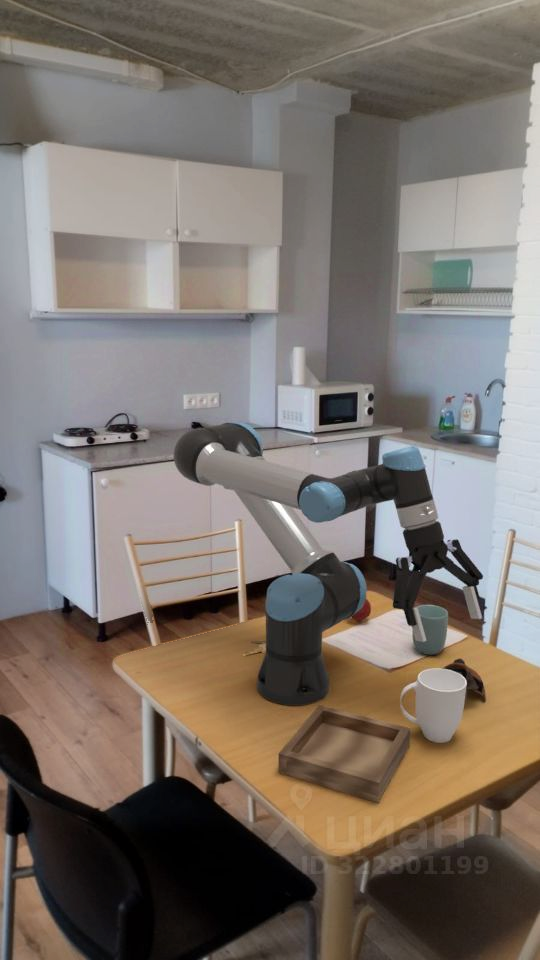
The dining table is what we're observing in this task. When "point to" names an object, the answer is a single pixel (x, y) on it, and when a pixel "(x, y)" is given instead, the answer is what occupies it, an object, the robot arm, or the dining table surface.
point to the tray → (345, 752)
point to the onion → (363, 612)
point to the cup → (432, 629)
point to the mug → (438, 703)
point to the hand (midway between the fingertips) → (449, 629)
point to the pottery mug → (468, 676)
